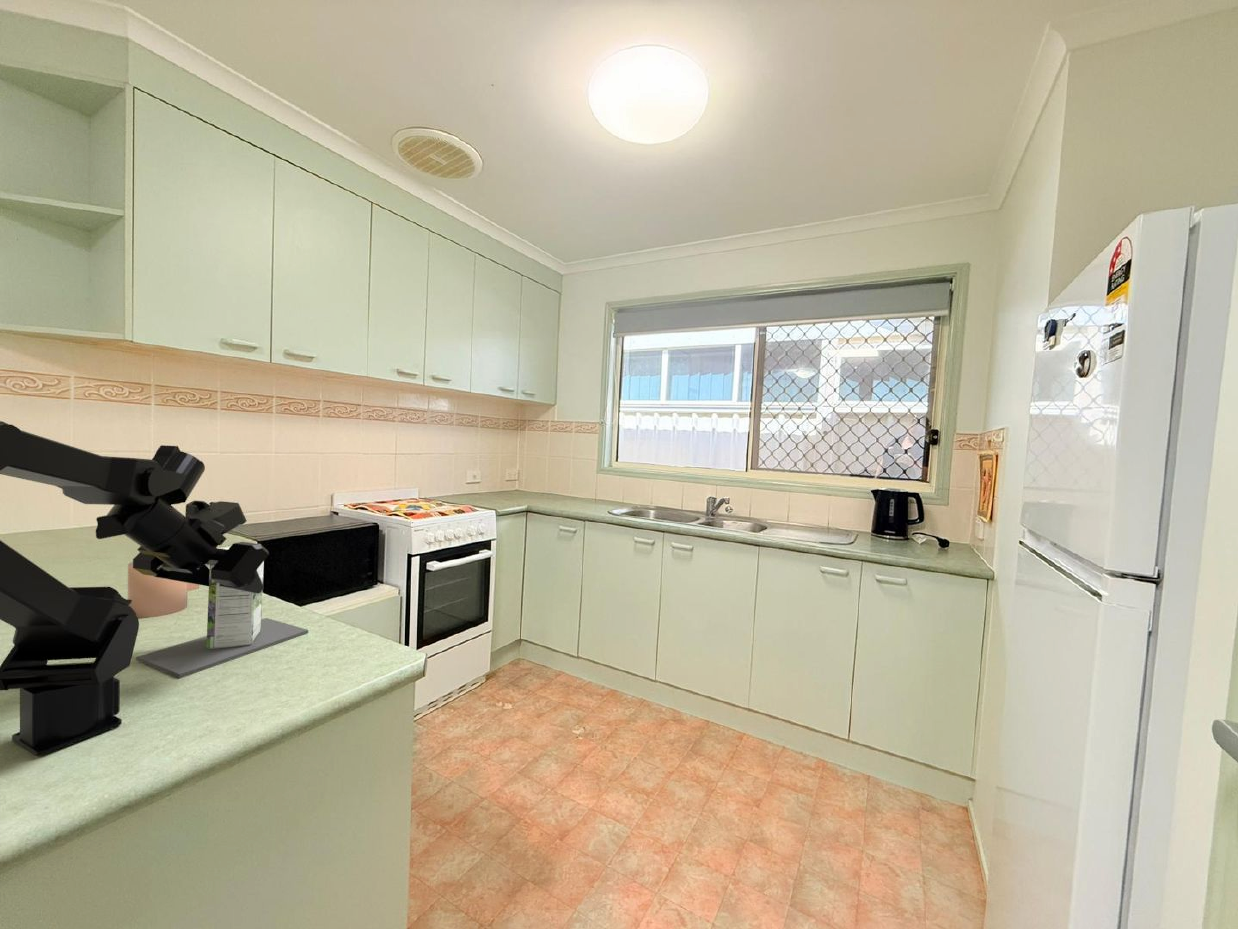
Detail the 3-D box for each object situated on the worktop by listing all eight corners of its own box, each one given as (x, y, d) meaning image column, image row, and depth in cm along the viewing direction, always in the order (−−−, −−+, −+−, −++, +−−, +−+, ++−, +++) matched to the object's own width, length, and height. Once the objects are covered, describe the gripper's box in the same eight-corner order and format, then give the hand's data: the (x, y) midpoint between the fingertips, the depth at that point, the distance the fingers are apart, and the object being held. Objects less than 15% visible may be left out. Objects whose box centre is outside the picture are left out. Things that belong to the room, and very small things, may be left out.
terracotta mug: (142, 621, 84) (142, 569, 84) (117, 612, 87) (118, 563, 87) (209, 604, 93) (210, 558, 93) (185, 597, 96) (185, 552, 96)
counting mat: (179, 678, 66) (180, 674, 66) (135, 660, 70) (135, 656, 70) (308, 632, 83) (308, 630, 83) (266, 620, 87) (266, 618, 87)
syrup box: (218, 635, 79) (220, 547, 78) (262, 631, 81) (264, 545, 80) (205, 650, 73) (207, 555, 73) (253, 645, 76) (255, 554, 75)
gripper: (258, 489, 69) (318, 550, 81) (157, 481, 73) (228, 540, 85) (199, 555, 62) (274, 612, 73) (90, 542, 66) (178, 598, 77)
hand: (239, 587), depth 77 cm, fingers open, 8 cm apart
